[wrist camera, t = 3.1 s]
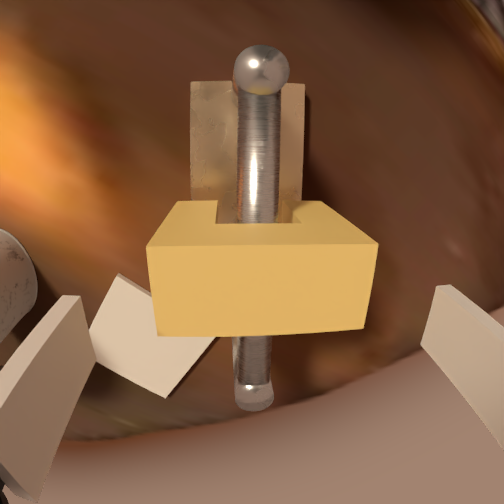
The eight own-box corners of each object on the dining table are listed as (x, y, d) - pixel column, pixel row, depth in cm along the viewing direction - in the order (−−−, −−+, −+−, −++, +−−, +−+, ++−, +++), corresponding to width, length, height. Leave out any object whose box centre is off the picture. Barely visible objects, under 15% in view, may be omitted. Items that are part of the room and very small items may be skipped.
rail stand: (192, 82, 21) (170, 46, 12) (301, 84, 22) (349, 54, 12) (199, 328, 28) (191, 412, 19) (289, 326, 29) (315, 406, 19)
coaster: (118, 272, 26) (116, 275, 25) (217, 331, 28) (217, 334, 28) (81, 347, 28) (79, 350, 27) (166, 394, 31) (165, 398, 30)
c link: (180, 261, 21) (157, 336, 13) (177, 201, 20) (146, 246, 12) (316, 259, 22) (363, 328, 14) (320, 200, 20) (378, 243, 12)
